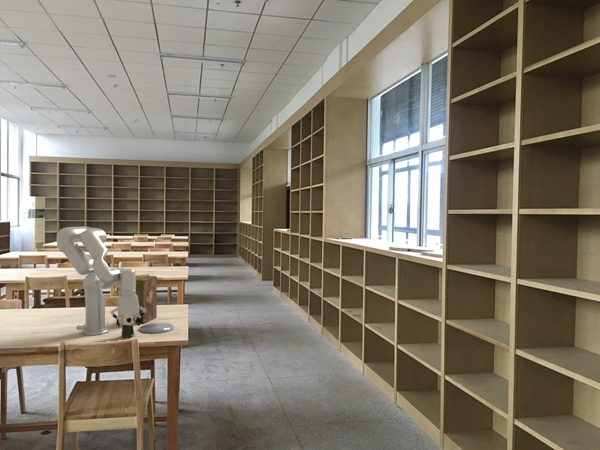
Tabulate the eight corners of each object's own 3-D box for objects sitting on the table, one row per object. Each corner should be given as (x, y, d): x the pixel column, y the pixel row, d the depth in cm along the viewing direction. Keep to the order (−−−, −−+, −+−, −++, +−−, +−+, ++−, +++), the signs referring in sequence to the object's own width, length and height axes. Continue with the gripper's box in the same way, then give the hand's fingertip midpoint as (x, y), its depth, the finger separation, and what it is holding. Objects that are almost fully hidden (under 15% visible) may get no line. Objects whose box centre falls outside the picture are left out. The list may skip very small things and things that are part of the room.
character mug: (123, 340, 238) (123, 314, 237) (114, 338, 242) (114, 312, 241) (141, 335, 247) (141, 310, 247) (131, 333, 251) (131, 308, 250)
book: (149, 316, 287) (149, 275, 286) (157, 317, 286) (157, 276, 285) (134, 323, 271) (134, 280, 270) (143, 324, 270) (143, 280, 269)
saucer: (138, 334, 249) (138, 332, 249) (140, 325, 266) (140, 324, 266) (173, 332, 254) (173, 330, 254) (173, 324, 271) (173, 322, 271)
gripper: (109, 295, 237) (110, 329, 238) (145, 293, 242) (146, 326, 243) (110, 292, 245) (111, 325, 245) (146, 290, 249) (146, 323, 250)
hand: (128, 326), depth 244 cm, fingers open, 9 cm apart
